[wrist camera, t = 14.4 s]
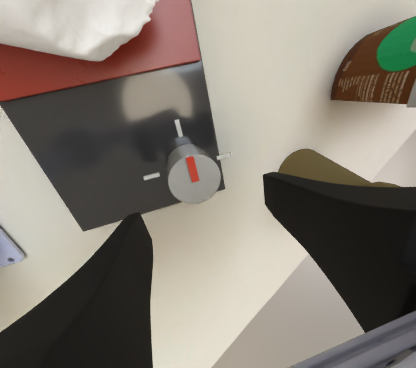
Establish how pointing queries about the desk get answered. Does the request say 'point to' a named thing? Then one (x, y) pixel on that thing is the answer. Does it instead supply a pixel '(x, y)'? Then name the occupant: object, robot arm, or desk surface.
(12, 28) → the white bottle
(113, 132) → the hob
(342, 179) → the olive pawn
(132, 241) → the robot arm
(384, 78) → the food container
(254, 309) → the desk surface
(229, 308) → the desk surface
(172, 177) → the hob knob
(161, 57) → the plate
